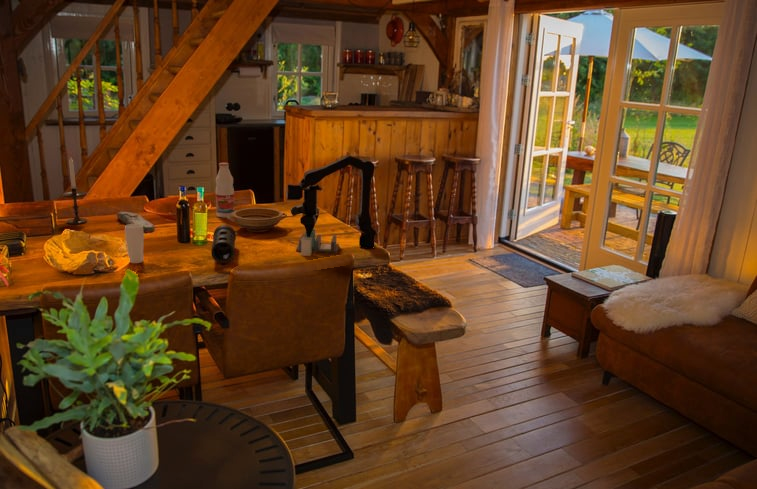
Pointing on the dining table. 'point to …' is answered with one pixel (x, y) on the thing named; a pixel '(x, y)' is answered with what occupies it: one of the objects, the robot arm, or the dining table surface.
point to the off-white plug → (306, 246)
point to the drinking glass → (134, 242)
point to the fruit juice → (224, 192)
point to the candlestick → (74, 196)
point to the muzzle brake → (223, 244)
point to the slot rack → (322, 245)
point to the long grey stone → (135, 220)
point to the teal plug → (311, 237)
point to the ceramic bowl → (257, 218)
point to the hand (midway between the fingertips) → (309, 234)
